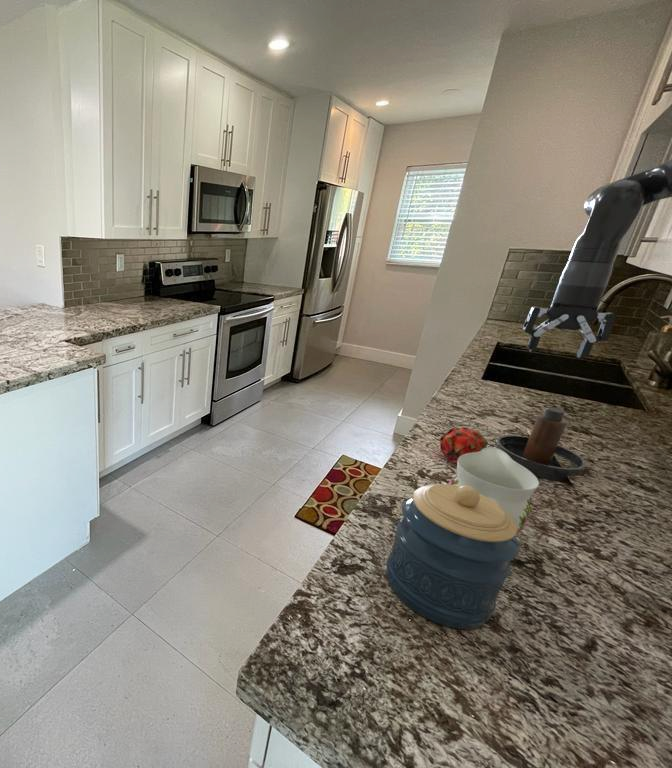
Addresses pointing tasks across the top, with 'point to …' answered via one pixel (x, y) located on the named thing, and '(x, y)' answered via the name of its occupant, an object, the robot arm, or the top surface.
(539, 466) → the pan
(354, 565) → the top surface
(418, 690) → the top surface
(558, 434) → the pepper mill
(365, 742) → the top surface
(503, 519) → the canister
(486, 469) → the pitcher
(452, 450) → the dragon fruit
